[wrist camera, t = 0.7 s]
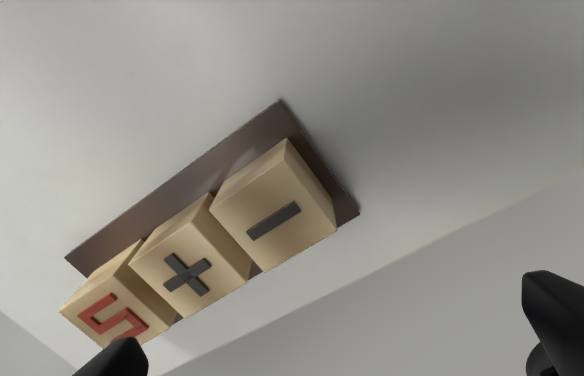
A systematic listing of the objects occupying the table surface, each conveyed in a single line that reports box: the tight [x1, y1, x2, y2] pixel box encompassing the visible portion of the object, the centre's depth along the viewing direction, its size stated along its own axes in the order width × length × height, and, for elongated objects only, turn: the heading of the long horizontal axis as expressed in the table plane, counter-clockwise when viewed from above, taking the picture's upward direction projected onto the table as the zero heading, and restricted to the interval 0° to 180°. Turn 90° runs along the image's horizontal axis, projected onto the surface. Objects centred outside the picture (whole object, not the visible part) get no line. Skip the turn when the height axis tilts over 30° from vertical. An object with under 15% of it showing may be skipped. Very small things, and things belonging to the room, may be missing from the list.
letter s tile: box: [59, 239, 177, 349], centre depth 21 cm, size 4×4×4 cm
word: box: [64, 99, 360, 325], centre depth 20 cm, size 17×8×4 cm, turn 126°
